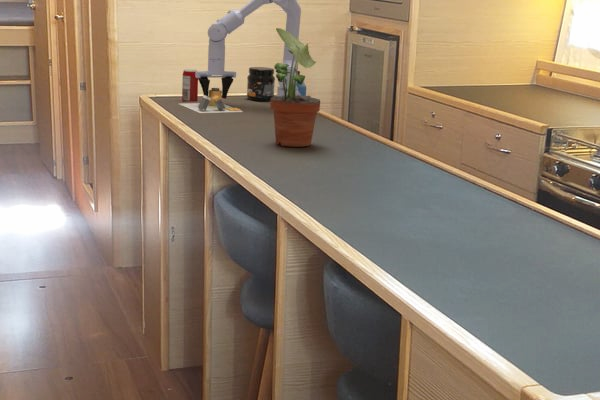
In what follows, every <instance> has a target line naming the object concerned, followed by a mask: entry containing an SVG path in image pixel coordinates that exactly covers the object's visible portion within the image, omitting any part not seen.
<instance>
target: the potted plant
mask: <svg viewBox="0 0 600 400" xmlns="http://www.w3.org/2000/svg"><path fill="white" fill-rule="evenodd" d="M275 29H276V32H277V34H278V36H279V37H280V39H281V40H282V41H283V43H284V44H286V45H287V47H288V48H289V49H290V50H292V51H290V50H288V51H289V52H290V53H291V54H294V55H295V58H296V59H297V61H296V64H297V71H299V70H298V68H299V65H300V66H302V67H303V68H305V69H308V68H310V69H311V68H312V67H313V66H314V65H315V64H316V62H317V61H315V60H314V59H313V58H312V56H311V55H310V51H309V43H306V44H305V45H304V43H303V42H301V41H300V40H298V39H297V38H295V37H294V36H293V35H292V34H290V33H289V32H287V31H286V29H282V28H279V27H278V28H275ZM293 61H294V56H293ZM293 61H292V66H291V71H290V72H288V71H287V67H288V66H289V65H288V64H283V65H282V63H283V62H277V63H275V65H274V68H273V69H274V70H275V72H276V75H275V79H276V80H277V82H278V81H279V82H282V80H283V90H284V96H277V95H275V96H274V97H271V99H270V101H269V102H270V109H271V110H272V111H273V121H274V123H273V124H274V135H275V143H276V144H277V146H278V145H280V146H282V147H284V146H285V147H296V148H299V147H308V146H311V145H312V140H313V134H314V129H315V124H316V119H317V114H318V112H320V109H321V99H320V98H315V97H312V96H311V95H306V96H304V95H295V90H296V81H297V83H298V84H301V85H302V83H303V82H304V81H305V78H306V76H305V75H303V74H300V75H297V71H296V76H295V75H294V73H295V68H296V64H295V67H294V71H293V75H292V69H293ZM287 73H290V78H289V86H288V95H287V81H286V78H285V77H286V76H287ZM291 78H292V81H291ZM284 80H285V83H284ZM293 80H294V83H293ZM285 84H286V89H285Z"/></svg>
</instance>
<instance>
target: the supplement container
mask: <svg viewBox="0 0 600 400" xmlns="http://www.w3.org/2000/svg"><path fill="white" fill-rule="evenodd" d="M248 73H249V74H248V75H247V81H246V82H247V84H246V85H247V87H246V98H247V100H250V101H253V102H262V103H263V102H264V103H265V102H270V99H271V97H275V81H276V76H274V74H275V68H272V67H267V66H265V67H264V66H263V67H262V66H251V67H249V68H248Z"/></svg>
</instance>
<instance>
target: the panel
mask: <svg viewBox="0 0 600 400" xmlns="http://www.w3.org/2000/svg"><path fill="white" fill-rule="evenodd" d="M199 104H200V102H194V103H193V102H192V103H191V102H184V103H179V106H182V107H185V108H187V109H190V110H191V111H194V112H196V113H199V114H216V113H217V114H218V113H219V114H220V113H244V111H243V110H242V109H240V108H238V107H232V106H230V105H227V104H225V103H223V104H224V106H225V111H221V110H218V108H217V106H209V104H208V106H207V108H206V111H201V110H199V109H198V106H199Z"/></svg>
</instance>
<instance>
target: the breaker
mask: <svg viewBox="0 0 600 400" xmlns="http://www.w3.org/2000/svg"><path fill="white" fill-rule="evenodd" d="M210 100H211V98H210V97H209V95H208V96H205V95H204V94H203V96H202V98H201V100H200V102H199V103H200V104H199V106H198V109H199V110H201V111H206V108H207V106H208V104H209V102H210Z"/></svg>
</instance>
